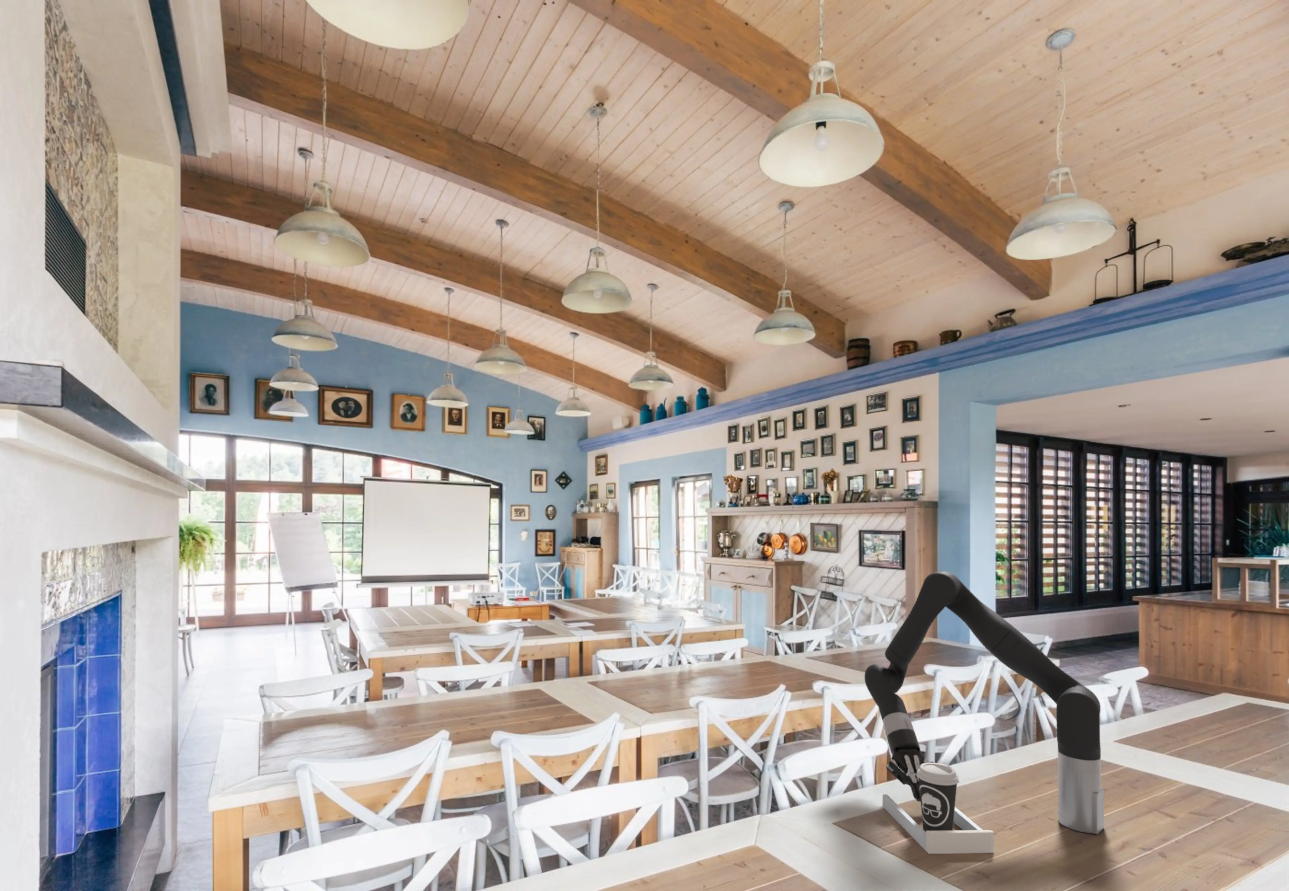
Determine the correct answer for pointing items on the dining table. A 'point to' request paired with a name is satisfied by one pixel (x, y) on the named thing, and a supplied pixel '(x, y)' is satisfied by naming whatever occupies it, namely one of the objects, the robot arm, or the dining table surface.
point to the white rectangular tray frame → (944, 833)
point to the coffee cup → (937, 796)
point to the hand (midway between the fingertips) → (921, 799)
